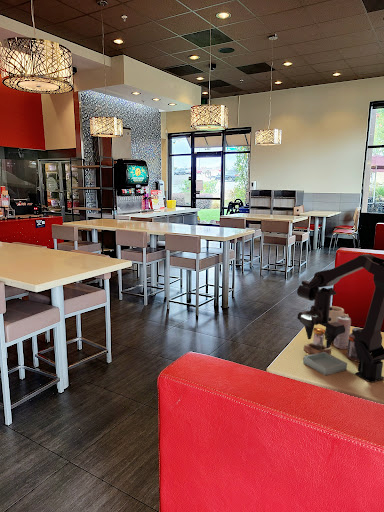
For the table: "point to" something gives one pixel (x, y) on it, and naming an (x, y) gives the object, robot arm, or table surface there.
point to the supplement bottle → (352, 346)
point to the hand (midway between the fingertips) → (318, 343)
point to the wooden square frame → (312, 350)
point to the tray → (325, 363)
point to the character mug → (335, 314)
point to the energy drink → (343, 338)
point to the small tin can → (318, 338)
